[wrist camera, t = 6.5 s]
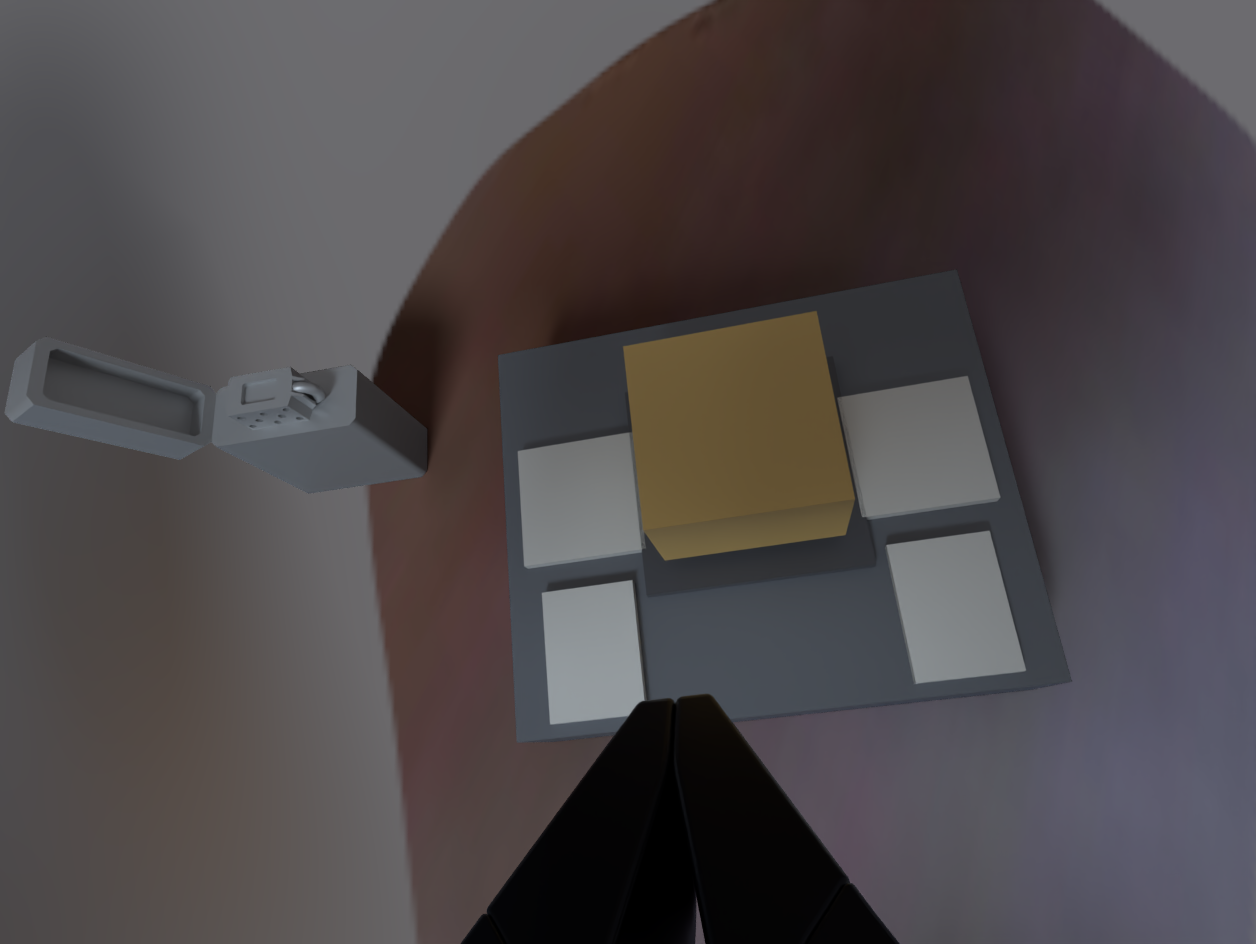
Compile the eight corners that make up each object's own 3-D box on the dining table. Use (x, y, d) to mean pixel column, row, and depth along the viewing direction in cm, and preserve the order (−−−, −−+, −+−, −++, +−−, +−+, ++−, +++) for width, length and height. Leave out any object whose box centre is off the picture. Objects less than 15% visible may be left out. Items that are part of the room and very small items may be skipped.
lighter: (427, 423, 25) (270, 288, 17) (427, 475, 24) (264, 359, 17) (223, 456, 26) (-7, 342, 18) (218, 507, 25) (-21, 410, 18)
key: (845, 535, 17) (855, 499, 15) (664, 560, 18) (642, 530, 15) (813, 370, 19) (816, 310, 16) (646, 399, 19) (623, 346, 17)
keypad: (1030, 689, 19) (1076, 680, 16) (553, 741, 21) (512, 742, 18) (936, 327, 22) (959, 262, 19) (531, 399, 24) (494, 350, 21)
